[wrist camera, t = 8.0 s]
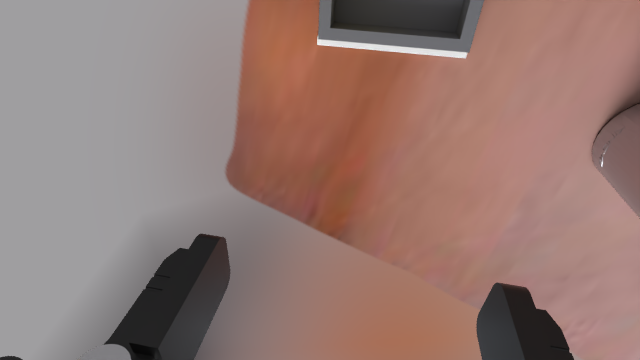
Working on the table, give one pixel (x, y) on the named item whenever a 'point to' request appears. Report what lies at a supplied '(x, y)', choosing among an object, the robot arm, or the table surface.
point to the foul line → (392, 48)
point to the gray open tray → (401, 22)
